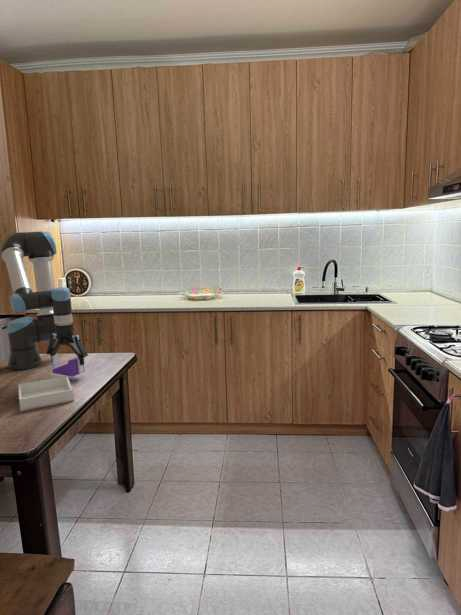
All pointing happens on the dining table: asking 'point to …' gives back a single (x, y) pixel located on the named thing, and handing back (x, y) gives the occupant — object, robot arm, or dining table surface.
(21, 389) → the bin
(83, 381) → the dining table surface
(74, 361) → the bracket
